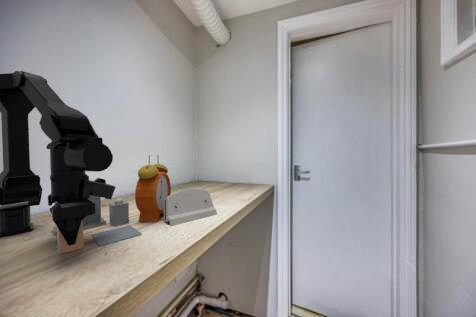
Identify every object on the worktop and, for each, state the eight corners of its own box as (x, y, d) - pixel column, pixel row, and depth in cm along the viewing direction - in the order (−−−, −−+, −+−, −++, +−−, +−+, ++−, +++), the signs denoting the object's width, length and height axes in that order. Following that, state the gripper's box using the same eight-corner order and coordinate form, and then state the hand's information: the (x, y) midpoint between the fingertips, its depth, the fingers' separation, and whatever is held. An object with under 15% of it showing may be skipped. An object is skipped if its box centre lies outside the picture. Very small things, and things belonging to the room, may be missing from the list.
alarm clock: (155, 223, 58) (154, 155, 58) (134, 223, 58) (133, 155, 58) (171, 210, 71) (171, 155, 71) (154, 210, 72) (154, 155, 71)
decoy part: (109, 223, 59) (109, 199, 59) (124, 220, 62) (124, 197, 61) (113, 226, 56) (112, 201, 56) (128, 223, 59) (128, 199, 59)
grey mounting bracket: (169, 226, 56) (164, 191, 58) (163, 227, 59) (159, 194, 62) (218, 214, 67) (212, 185, 69) (210, 215, 70) (205, 188, 73)
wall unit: (53, 230, 53) (52, 195, 53) (101, 220, 61) (101, 189, 61) (54, 236, 50) (53, 198, 50) (106, 224, 58) (105, 191, 57)
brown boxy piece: (57, 247, 44) (56, 215, 43) (80, 241, 46) (79, 211, 46) (59, 254, 41) (58, 219, 41) (83, 247, 44) (82, 214, 43)
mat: (91, 235, 50) (91, 234, 50) (129, 225, 57) (129, 225, 57) (99, 246, 44) (99, 245, 44) (141, 234, 50) (141, 233, 50)
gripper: (123, 170, 42) (124, 242, 43) (102, 166, 55) (103, 222, 56) (52, 174, 34) (54, 263, 35) (46, 169, 47) (48, 233, 48)
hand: (70, 241), depth 44 cm, fingers closed on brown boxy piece, 4 cm apart
